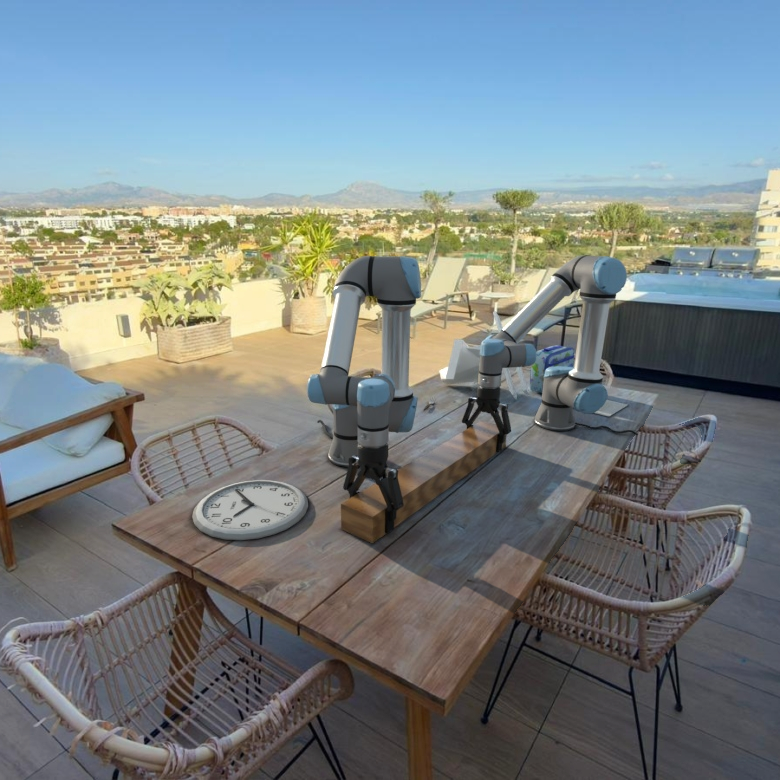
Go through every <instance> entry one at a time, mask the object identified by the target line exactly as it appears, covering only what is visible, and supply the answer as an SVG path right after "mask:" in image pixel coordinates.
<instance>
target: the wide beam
mask: <svg viewBox="0 0 780 780" xmlns="http://www.w3.org/2000/svg"><path fill="white" fill-rule="evenodd" d="M472 425H473V426H471V427H470V428H468V429H467V428H466V429H464V430H463V431H461V432H460V433H458V434H455V436H453V437H451V438H449V439H447V440H446V441H445V442H443V443H441V444H439V445H438V446H436V447H434V448H432V449H431V450H429V451H427V452H426V453H424V454H422V455H421V456H419V457H417V458H416V459H413V461H410V462H409V463H407V464H405V465H404V466H402V467H400V468H399V469H398V481H399V485H400V490H401V494H402V499H403V503H404V506H403V507H401V508H400V509H399V510H397V513H396V519H395V520H394V529H395V528H396V527H397V526H399V525H400V524H401V523H403V522H405V521H406V520H407V519H409V517H411V516H412V515H414V514H416V513H417V512H418V511H419V510H421V509H422V508H423V507H425V506H426V505H428V504H429V503H430V502H432V501H433V500H434V499H436V498H437V497H439V496H440V495H441V494H443V493H444V492H446V491H447V490H448V489H450V488H451V487H452V486H454V485H456V483H458V482H459V481H461V480H462V479H463V478H465V477H466V476H468V475H469V474H471V473H472V472H473V471H475V470H476V469H478V468H479V467H480V466H481V465H483V464H484V463H485V462H487V461H488V460H489V459H491V458H492V457H493V456H495V455H496V454H498V453H497V452H496V447H497V435H498V434H499V430H498V428H497V426H496V423H491V422H488V421H484V420H480V421H478V422H477V423H475V424H472ZM507 435H508V434H505V442H504V443H502V450H503V449H505V448H506V446H507ZM359 492H360V493H358V494H356V495H355V496H353V497H351V498H350V497H349V498H348V499H346V500H344V501H343V502H341V503H340V529H341V530H342V531H344V532H347V533H348V534H350V535H353V536H355V537H357V538H359V539H362V540H364V541H366V542H369V543H370V544H374V543H375V542H377V541H378V540H380V539H381V538H383V537H384V536H385V535H386V534H387V533H385V509H386V508H388V507H387V504H386V502H385V500H384V497H383V495H382V493H381V490H380V488H379V486H378V485H377V484H376V482H375V483H373V484H372V485H370V486H368V487H366V488H365V489H363V490H361V491H359Z"/></svg>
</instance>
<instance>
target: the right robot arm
mask: <svg viewBox="0 0 780 780" xmlns="http://www.w3.org/2000/svg"><path fill="white" fill-rule="evenodd" d="M627 275H628V272H627V268H626V266H625V265H624V264H623V262H622V261H621V260H620V259H618V258H615V257H611V256H607V255H605V256H603V255H590V254H581V255H578V256H576V257H573V258H572V259H569V260H568V261H567V262H566V263H564V264H563V265H562V266H560V267H559V268H558V269H557V270H556V271H555V272H554V273H553V274H552V275H551V276H550V277H549V282H548V283H547V284H546V285H545V286H544V287H543V288H542V289H541V290H540V291H539V292H538V293H537V294H536V295H535V296H533V298H531V300H530V301H529V302H528V303H527V304H526V305H525V306H524V307H522V308H521V310H520V311H519V312H518V313H517V314H516V315H515V316H514V317H513V318H512V319H511V320H510V321H509V322H508V323H507V324H506V325H505V326H504V327H503V329H502V330H501V331H500V332H499V331H498V333H497V334H490V335H488V336H486V337H485V339H483V340H482V341H481V343H480V345H481V348H480V361H479V376H478V382H477V384H478V385H477V391H476V393H477V394H476V395H477V397H475V396H474V395H473V396H470V397H468V398H467V405H466V409H465V411H464V414H463V416H462V419H461V423H462V424H465V425H466V429H468V428H470V427H471V426H473V425H474V422H475V421H476V420H477V419H478V417H479V416H480V414H481V413H486V414H489V415H490V416H491V417H492V419H493V421H494V424H496V426H497V428H498V430H499V434H498V435H497V447H496V452H497V453H496V454H499V453H500V452H501V451H502V450H503V449H502V443H504V442H505V434H507V435H509V434H511V433H512V426H511V421H510V416H509V412H508V410H509V404H508V403H505V404H504V403H501V401H500V398H501V386H502V373H503V368H509V369H511V368H516V367H521V368H526V367H531V365H533V364H534V363H535V361H536V356H537V353H536V352H537V349H536V347H535V345H533V344H532V343H520V342H521V341H522V340H523V339H524V338H525V337H526V336H527V335H528V334H529V333H530V332H531V331H532V330H533V329H534V328H535V327H536V326H537V325H538V324H539V323H540V322H541V321H542V320H543V319H544V318H545V317H546V316H547V315H549V313H551V311H552V310H554V308H555V307H556V306H557V305H558V304H559V303H560V302H561V301H562V300H563V299H564V298H565V297H570V296H571V295H572V294H574V292H576V291H578V290H579V294H578V295H579V296H578V297H579V298H580V299H581V300H582V308H581V315H580V320H579V321H580V322H579V328H578V334H577V335H578V336H577V343H576V350H575V355H574V364H573V367H564V366H556V367H549V368H547V369H546V370H545V374H544V381H543V392H542V393H541V402H540V405H539V407H538V410H537V411H536V413H535V415H534V424H535V425H536V426H537V427H539V428H542V429H544V430H549V431H556V432H567V431H572V430H574V429H575V428H576V426H581V427H584V428H588V429H592V430H598V429H607V430H609V432H611V433H614V434H625V433H631V434H634V435H635V436H639V433H637V432H636V431H634V430H632V429H626V430H615V429H613V428H611V427H609V426H607V425H599V426H592V425H588V424H585V423H580V422H576V418H575V417H576V416H575V413H574V410H575V411H576V412H578V413H582V414H585V415H590V414H595V413H594V412H596V411H598V410H599V409H600V408H601V407H602V406H603V405H604V404H605V402H606V400H608V389H607V388H606V386H604V384H603V379H604V375H603V374H602V373H601V371H600V369H601V362H602V357H603V350H604V344H605V337H606V331H607V326H608V317H609V312H610V306H611V303H612V302H613V301H615V300H616V298H617V294H618V293H620V292H621V291H622V289H623V288H624V287H625V285H626V283H627V278H628V276H627ZM475 404H476V405H477V408H476V409H475V410H474V412H473V414H472V411H473V409H474V406H475ZM499 410H500V411H499Z"/></svg>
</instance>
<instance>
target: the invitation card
mask: <svg viewBox="0 0 780 780" xmlns="http://www.w3.org/2000/svg"><path fill="white" fill-rule="evenodd" d="M628 406H629V404H627V403H623V402H618V401H614V400H609V399H607V400H606V402H605V404H604V405H603V406H602V407H601V408H600V409H599V410H598V411H596V412H594V413H593V414H596V415H600V416H604V417H608V418H609V417H611V416H613V415H614V414H616V413H617V412H619V411H621V410H623V409H624V408H626V407H628Z"/></svg>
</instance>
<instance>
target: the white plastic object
mask: <svg viewBox="0 0 780 780" xmlns="http://www.w3.org/2000/svg"><path fill="white" fill-rule="evenodd" d="M492 315H493V319H494V321H495V324H496V325H495V326H496V328H497V332H498V333H499V332H500V331H501V330H502V329H503V328H504V327H503V325H502V321H501V318H500V315H499V314H498V312H497V311H496V310H495V311H492ZM480 348H481V344H479V345H473V346H469V345H468V343H466V342H465V340H464V339H463V338H460V339H458V338H454V340H453V344H452V349H451V353H450V357H449V362H448V366H446V367H444V368H442V369H440V370H439V371H438V372H439V376H440V381H442V383H443V384H444V385H445V386H449V385H458V384H467V383H468V384H469V383H473V384H478V376H479V361H480ZM522 368H523V367H515V369H516V372H517V376H518V380H519V382H520V385H521V389H522V391H523V393H524V395H525V396H526V397H528V396H531V395H530V389H529V388H528V387H529V386H528V384H527V381H526V378H525V375H524V371H523V369H522ZM502 371H503V373H504V376H505V380H506V383H507V386H508V390H509V393H510V394H511V395H512V397H513V398H514V399H515V400H517V392H516V391H517V390H516V388H515V385H514V381H513V378H512V375H511V371H510V368H502Z"/></svg>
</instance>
